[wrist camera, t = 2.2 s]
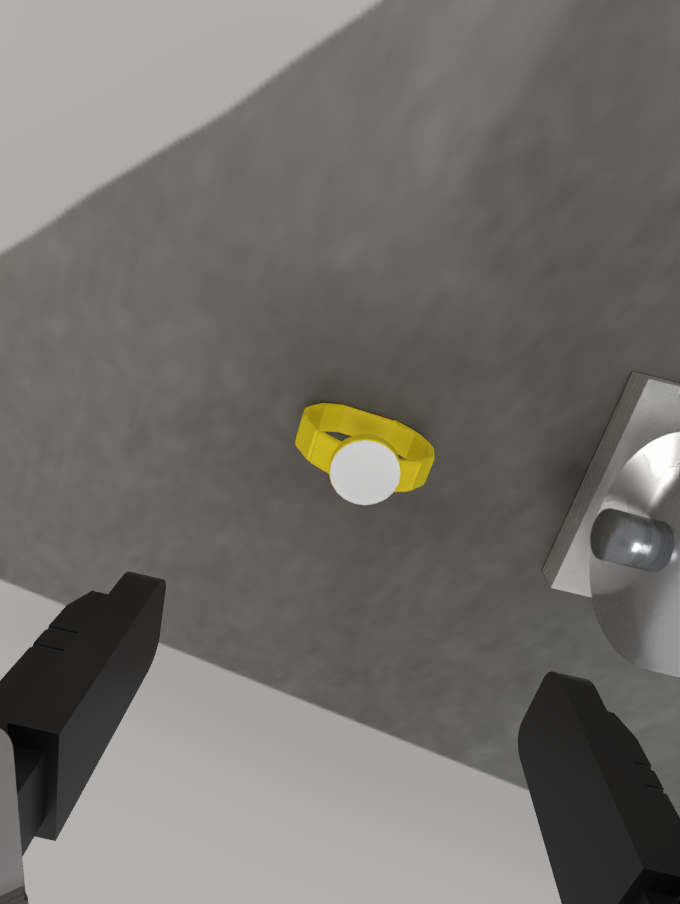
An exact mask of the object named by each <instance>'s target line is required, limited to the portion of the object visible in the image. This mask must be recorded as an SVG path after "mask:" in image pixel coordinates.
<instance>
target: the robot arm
mask: <svg viewBox="0 0 680 904" xmlns="http://www.w3.org/2000/svg"><path fill="white" fill-rule="evenodd" d="M165 589H166V582H165V580H163V579H159V578H155V577H150V576H146V575H142V574H138V573H133V572H126V573H125V574H124V575H123V576H122V577H121V579H120V580H119V581H118V583H117V584H116V585H115V586H114V588H113V589H112V590H111V591H110V593H109V594H104V593H99V592H95V591H91V592H89V593H88V594H86V595H84V596H82V597H81V598H79V599H77V600H75V601H74V602H72V603H70V604H68V605H67V606H66V607H65V608H64V609H63V610H62V611H61V613H60V614H59V615H58V616H57V617H56V618H55V619H54V621H53V622H52V623H51V624H50V625H49V628H48V629H47V630H45V631H44V632H43V633H42V634H41V635H40V637H39V638H38V639H37V640H36V641H35V642H34V645H33V647H30V648H29V649H28V650H27V651H26V652H25V653H24V655H23V656H22V657H21V658H20V659H19V660H18V661H17V662H16V664H15V665H14V666H13V667H12V668H11V669H10V670H9V672H8V673H7V674H6V675H5V676H4V677H3V678H2V679H1V681H0V904H28V898H27V895H26V893H25V884H24V873H23V861H22V856H23V855H24V853H25V851H26V850H27V848H28V846H29V844H30V843H31V841H32V839H33V838H34V836H36V837H40V838H45V839H49V840H54V841H56V839H57V837H58V835H59V833H60V831H61V830H62V828H63V826H64V824H65V822H66V821H67V819H68V817H69V815H70V813H71V811H72V810H73V808H74V806H75V804H76V802H77V800H78V799H79V797H80V795H81V793H82V791H83V789H84V788H85V786H86V784H87V782H88V780H89V778H90V777H91V775H92V773H93V771H94V769H95V767H96V766H97V764H98V762H99V760H100V758H101V756H102V754H103V753H104V751H105V749H106V747H107V745H108V743H109V742H110V740H111V738H112V736H113V734H114V733H115V731H116V729H117V727H118V725H119V724H120V722H121V720H122V718H123V716H124V714H125V713H126V711H127V709H128V707H129V705H130V703H131V702H132V700H133V698H134V696H135V694H136V692H137V691H138V689H139V687H140V685H141V683H142V681H143V679H144V678H145V676H146V674H147V672H148V670H149V668H150V666H151V664H152V661H153V659H154V656H155V653H156V649H157V646H158V642H159V637H160V629H161V621H162V613H163V605H164V597H165ZM518 751H519V756H520V760H521V764H522V767H523V771H524V774H525V778H526V781H527V785H528V788H529V791H530V795H531V798H532V802H533V805H534V809H535V812H536V816H537V819H538V822H539V826H540V830H541V833H542V837H543V840H544V843H545V847H546V850H547V854H548V857H549V861H550V864H551V867H552V871H553V875H554V878H555V882H556V885H557V889H558V892H559V895H560V899H561V903H562V904H680V818H679V816H678V814H677V812H676V811H675V809H674V807H673V805H672V803H671V801H670V799H669V798H668V796H667V794H664V793H663V789H664V788H663V787H662V785H661V783H660V781H659V779H658V777H657V775H656V774H655V772H654V771H652V770H651V764H650V763H649V761H648V759H647V757H646V755H645V753H644V751H643V750H642V748H641V746H640V744H639V742H638V740H637V738H636V737H635V736H634V735H633V734H632V733H631V732H630V731H629V729H628V728H627V727H626V726H625V725H624V724H623V723H622V722H621V720H620V719H619V718H618V717H617V716H616V715H615V714H614V713H611V712H608V711H607V710H606V708H605V706H604V704H603V702H602V700H601V698H600V696H599V694H598V692H597V690H596V688H595V686H594V685H593V683H592V682H591V681H589V680H587V679H583V678H578V677H574V676H570V675H566V674H561V673H557V672H549V673H547V674H546V676H545V677H544V679H543V681H542V683H541V685H540V687H539V689H538V691H537V693H536V695H535V697H534V699H533V701H532V703H531V705H530V707H529V709H528V711H527V713H526V715H525V717H524V718H523V720H522V723H521V725H520V729H519V735H518Z"/></svg>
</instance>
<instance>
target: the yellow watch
mask: <svg viewBox="0 0 680 904" xmlns="http://www.w3.org/2000/svg"><path fill="white" fill-rule="evenodd" d="M325 432H339V433H342V434H346V435H349V436H351V437H349V438H347V439H345V440H343V441H342V442H341V441H339V440H338V439H336V438H334V437H332V436H330V435H328V434H327V433H325ZM295 444H296V447H297V448H298V449H299V450H300V452H301V453H302V454H303V455H304V457H305V458H306V459H307V460H308V461H310V463H311V464H313V465H315V466H317V467H318V468H320V469H322V470H323V471H325V472H327V473H328V474H329V477H330V481H331V484H332V486H333V487H334V489H335V491H336V492H337V493H338V494H339V495H340V496H342V497H343V498H344V499H345V500H347V501H350V502H352V503H354V504H360V505H370V504H376V503H378V502H381V501H383V500H385V499H386V498H388V497H389V496H390V495H391V494H392V493H393V492H407V491H408V492H409V491H412V490H414V489H416V488H418V487H420V486H422V485H424V483H425V481H426V479H427V476H428V474H429V471H430V469H431V466H432V464H433V461H434V459H435V457H434V448H433V447H432V445H431V444H430V443H429V442H428V441H427V440H426V439H425V438H424V437H423V436H422V435H421V434H418V432H416V431H414V430H413V429H411V428H409V427H407V426H406V425H404V424H402V423H400V422H397V420H390V419H387V418H384V417H381V416H378V415H374V414H371V413H368V412H365V411H362V410H359V409H355V408H352V407H349V406H346V405H343V404H332V403H319V404H316V405H312V406H309V407H306V408H305V409H304V411H303V415H302V418H301V422H300V425H299V429H298V433H297V437H296V441H295ZM398 455H400V456H402V457H403V458H405V459H399V456H398Z"/></svg>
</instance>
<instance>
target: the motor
mask: <svg viewBox="0 0 680 904" xmlns="http://www.w3.org/2000/svg"><path fill="white" fill-rule="evenodd" d="M542 572H543V574H544V575H545V577H546V579H547V581H548V583H549V585H550V587H551V588H554V589H558V590H562V591H566V592H570V593H575V594H579V595H583V596H587V597H591V598H592V601H593V605H594V609H595V612H596V616H597V618H598V621H599V624H600V626H601V628H602V630H603V632H604V634H605V636H606V638H607V639H608V640H609V642H610V643H611V645H612V646H613V647H614V648H615V650H616V651H617V652H618V653H619V654H620V655H621V656H622V657H624V658H625V659H626V660H627V661H629V662H630V663H632V664H634V665H636V666H638V667H640V668H643V669H647V670H650V671H654V672H658V673H662V674H667V675H671V676H675V677H679V678H680V383H677V382H673V381H669V380H665V379H661V378H656V377H652V376H648V375H644V374H640V373H636V372H632V373H631V376H630V378H629V380H628V382H627V384H626V387H625V389H624V391H623V393H622V395H621V398H620V400H619V402H618V404H617V407H616V409H615V411H614V413H613V415H612V418H611V420H610V422H609V424H608V426H607V429H606V431H605V433H604V435H603V437H602V440H601V442H600V444H599V446H598V448H597V451H596V453H595V455H594V457H593V459H592V462H591V464H590V466H589V468H588V470H587V473H586V475H585V477H584V479H583V481H582V484H581V486H580V488H579V490H578V492H577V495H576V497H575V499H574V501H573V503H572V506H571V508H570V510H569V512H568V514H567V517H566V519H565V521H564V523H563V526H562V528H561V530H560V532H559V534H558V537H557V539H556V541H555V543H554V545H553V548H552V550H551V552H550V554H549V556H548V559H547V561H546V563H545V565H544V567H543V570H542Z"/></svg>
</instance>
